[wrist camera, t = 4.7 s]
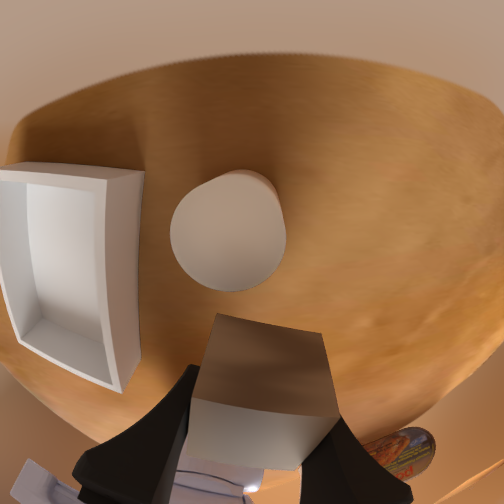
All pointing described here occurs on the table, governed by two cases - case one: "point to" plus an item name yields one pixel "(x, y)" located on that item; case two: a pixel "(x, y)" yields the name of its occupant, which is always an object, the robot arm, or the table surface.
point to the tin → (404, 452)
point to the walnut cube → (261, 396)
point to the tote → (73, 265)
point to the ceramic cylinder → (229, 231)
